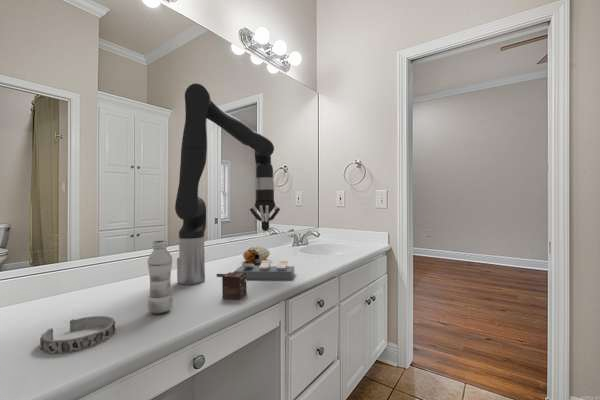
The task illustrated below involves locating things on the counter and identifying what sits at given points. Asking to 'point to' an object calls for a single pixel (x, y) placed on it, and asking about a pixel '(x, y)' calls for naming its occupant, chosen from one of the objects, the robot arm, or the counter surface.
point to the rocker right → (281, 265)
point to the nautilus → (256, 255)
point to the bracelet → (82, 342)
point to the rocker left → (248, 265)
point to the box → (234, 285)
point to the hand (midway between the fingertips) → (265, 230)
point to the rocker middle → (265, 265)
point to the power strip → (266, 273)
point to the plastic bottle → (160, 278)
